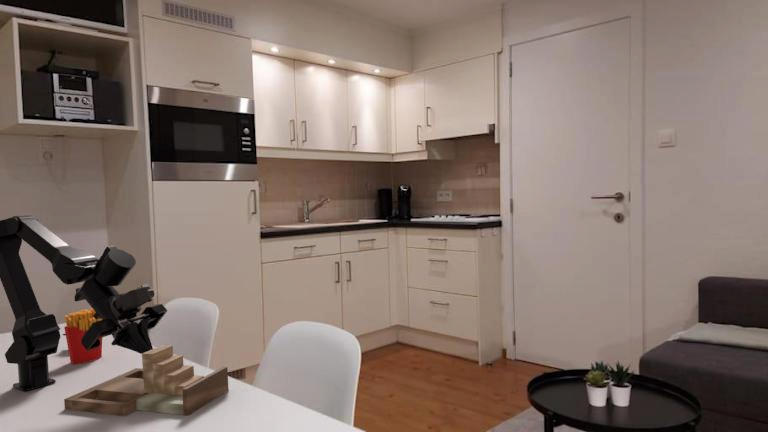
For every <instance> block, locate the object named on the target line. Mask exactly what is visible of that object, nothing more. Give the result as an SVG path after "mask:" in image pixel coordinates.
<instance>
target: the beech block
mask: <svg viewBox="0 0 768 432" xmlns="http://www.w3.org/2000/svg"><path fill="white" fill-rule="evenodd" d="M173 349H174V347H173V345H167V344H162V345H159V346H158V347H153V349H152V350H149V351H147V352H144V353H142V354H141V358H142V359H141V361H142V369H143V380H144V393H154V394H165V395H175V396H183V394H182V389H183V388H185V387H187V386H188V385H190V384H192V383H194V382H196V381H198V380H200V379H201V378H203V377H205V376H204V375H196V374H195V371H194V368H195V367H194V365H190V364H189V365H187V364H184V355H179V354H178V355H177V354H174V350H173Z"/></svg>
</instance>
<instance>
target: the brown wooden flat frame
mask: <svg viewBox="0 0 768 432" xmlns="http://www.w3.org/2000/svg"><path fill="white" fill-rule="evenodd" d="M228 372H229V371H228V366H222V367H220V368H218V369H216V370H214V371H213V372H211V373H209V374H208V375H205V376H204V377H203V378H201V379H200V380H198V381H196V382H194V383H192V384H190V385H188V386H187V387H185V388H183V389H182V394H183V396H175V395H165V394H154V393H144V380H143V368H133V369H131V370H129V371H126V372H125V373H121V374H119V375H117V376H115V377H112V378H110V379H108V380H106V381H103V382H101V383H98V384H96V385H94V386H92V387H89V388H86V389H84V390H82V391H80V392H78V393H75V394H74V395H70V396H69V397H68V396H67V397H66V398H64V400H63V401H64V402H63V403H64V410H70V411H79V412H88V413H96V414H103V415H104V414H105V415H110V416H111V415H112V416H113V415H114V416H120V417H126V416H127V415H130V414H131V413H133V412H135V411H144V412H153V413H163V414H172V415H181V416H189V415H191V414H193V413H194V412H196V411H198V410H199V409H201V408H202V407H204V406H206V405H207V404H209V403H211V402H212V401H214V400H215V399H217V398H218V397H221V396H222V395H224V394H225V393H227V392H228V391H229V390H230V389H229V375H228V374H229V373H228Z"/></svg>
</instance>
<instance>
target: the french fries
mask: <svg viewBox="0 0 768 432" xmlns="http://www.w3.org/2000/svg"><path fill="white" fill-rule="evenodd" d="M95 313H96V312H95V311H94V309H93V308H92V307H90V309H89V310H88V308H85V309H80V310H79V311H75V312H70V313H68V315H67V314H66V315H64V319H65V324H66V326H64V334H66V335H65V338H66V339H65V340H66V344H67V350H68V356H69V360H70V363H71V364H73V365H77V364H78V365H79V364H83V363H88V362H92V361H95V360H99V359H100V358H102V352H103V351H102V349H103V337H102V338H99V340H100V346H99V347H98V348H95V349H92V350H90V351H87V350H86V349H85V348H84V346H83V345H82V341H81V339H82V337H83V335H84V334H85V333H86V331H87V330H88V329H89V327H90V326H91V324H92V323H94V322H98V321H101V320H102V319H101V318H100V319H95V318H94V317H93V316H94V314H95Z"/></svg>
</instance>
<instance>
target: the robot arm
mask: <svg viewBox="0 0 768 432" xmlns="http://www.w3.org/2000/svg"><path fill="white" fill-rule="evenodd" d="M23 241H24V242H25V243H27V244H28V246H30V247H31V248H33V250H35V251H36V252H37V253H39V254H40V255H41V256H42V257H43V258H45V259H46V260H48V261H49V263H50V264H51V267H52V272H53V274H55V276H56V277H57V278H58V279H59V280H60V281H61V282H62V283H63V284H65V285H74V284H80V283H82V284H81V286H80V287H77V288H75V293H74V299H73V300H74V302H80V301H84V300H85V301H86V302H87V304H88V305H89V306H90V308H93V309H94V311H95V312H96V313H95V314H94V316H93V317H94V318H95V319H100V318H101V319H102V320H101V321H98V322H94V323H92V324H91V326H90V327H89V329H88V330H87V331H86V333H85V334H84V335H83V337H82V339H81V341H82V345H83V346H84V348H85V349H86V350H87V351H90V350H92V349H95V348H98V347H99V346H100V340H99V338H102V339H103V338H104V337H108V336H112V338H113V341H112V342H111V343H110V344H111V346H118V347H120V348H124V349H127V350H130V351H134V352H136V353H138V354H141V355H142V353H144V352H147V351H149V350H152V349H154V347H153V344H152V342H151V339H150V335H149V332H148V331H149V330H152V329H154V328H155V327H156V326H157V325H158V324H159V323H160V321H161V320H162V319H163V317H165V315H166V313H167V312H168V309H167V308H166V307H165V305H164V304H162V303H156V304H152V305H149V306H145V308H144V309H143V308H142V307H141V306H143V305H145V304H147V303H150V302H152V301H153V299H152V298H154V297H155V291H154V289H153V288H152V287H151V286H150V284H148V283H145V284H141V285H140V286H139V287H137V288H135V289H131V290H129V291H128V292H127V291H126V293H125V292H124V293H119V292H118V290H117V289H116V288H115V287H118V286H120V285H122V283H123V282H124V280H125V279H126V278H127V277H128V275H130V273H131V271H132V270H133V269H134V267H135V266H136V264H137V263H136V262H137V261H136V259H135V257H134V256H133V255H132V254H131V253H129V252H127V251H125V250H123V249H120V248H119V249H118V247H116V245H111V246H106V247H105V249H103V250H104V251H103V252H102V255H101V256H100V257H99V259H98V258H97V257H96V256H95V255H94V254H91V253H89V252H88V251H86V250H83V249H79V248H76V247H72V246H70V245H69V244H68V243H66V242H65V241H64V240H63V239H61V238H60V237H58V236H57V235H56V234H54V232H53V231H51V230H50V229H49V228H47V227H46V226H44V225H43V224H42V223H41V222H40V221H39V220H38V218H37V217H36V216H33V215H27V214H26V215H14V216H12V217H8V218H6V219H1V220H0V282H1V284H2V287H3V290H4V292H5V295H6V297H7V300H8V304H10V305H9V306H10V309H11V310H12V313H13V315H14V319H15V321H14V324H13V327H12V328H13V329H12V332H11V335H12V340H13V342H12V344H11V345H10V346H9V348H8V349H7V350H6V351H5V353H4V357H5V359H6V363H7V364H15V365H17V371H18V372H17V374H18V382H15V383H13V384H12V387H13V388H16V389H18V390H21V391H23V392H26V391H30V390H33V389H37V388H41V387H44V386H47V385H51V384H55V383H56V379H54V378H51V377H50V374H49V373H50V372H49V360H48V359H49V358H48V356H50V355H53V354H56V353H57V352H58V348H59V343H60V339H61V332H60V330H61V328H60V326H59V325H58V322H57V318H56V316H55V314H54V313H49V314H46V313H45V312H44V311H42V310H41V307H40V305H39V302H38V300H37V297H36V294H35V291H34V289H33V286H32V284H31V282H30V280H29V276H28V274H27V273H28V272H27V271H26V269H25V266H24V263H23V261H22V259H21V256H20V251H21V246H22V244H23ZM142 309H143V311H142ZM140 311H142V312H141V313H140ZM138 313H140V314H139V315H137V314H138Z"/></svg>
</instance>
